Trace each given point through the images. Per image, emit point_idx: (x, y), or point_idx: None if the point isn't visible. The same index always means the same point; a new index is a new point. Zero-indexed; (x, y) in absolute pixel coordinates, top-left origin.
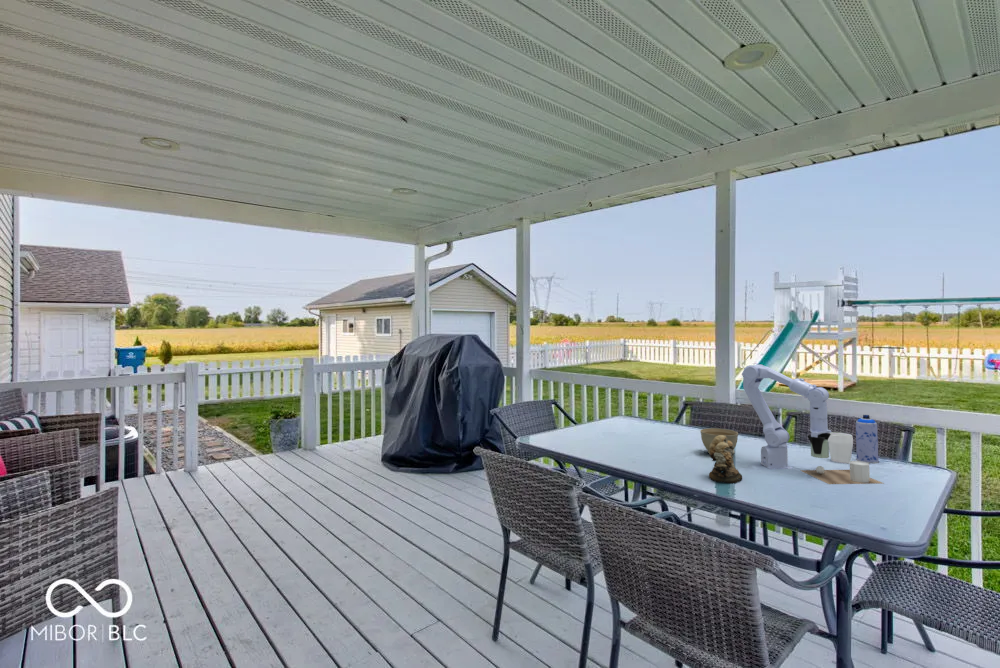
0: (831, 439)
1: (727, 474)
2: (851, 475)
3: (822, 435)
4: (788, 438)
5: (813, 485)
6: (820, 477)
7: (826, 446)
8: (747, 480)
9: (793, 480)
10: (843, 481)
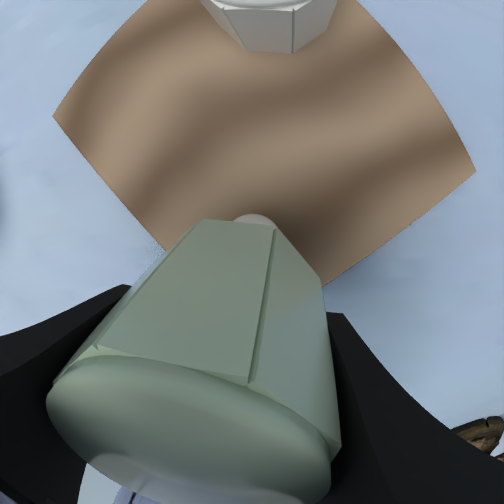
0: None
1: (487, 445)
2: (305, 36)
3: (21, 461)
4: (125, 493)
5: (494, 239)
6: (359, 222)
7: (273, 325)
8: (471, 414)
9: (444, 324)
10: (376, 89)
